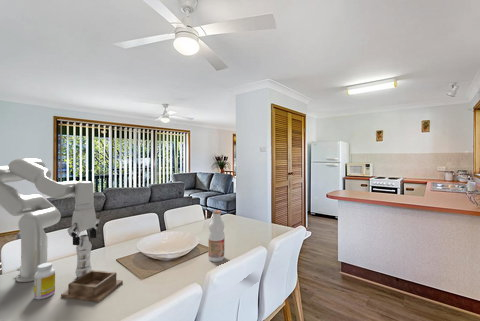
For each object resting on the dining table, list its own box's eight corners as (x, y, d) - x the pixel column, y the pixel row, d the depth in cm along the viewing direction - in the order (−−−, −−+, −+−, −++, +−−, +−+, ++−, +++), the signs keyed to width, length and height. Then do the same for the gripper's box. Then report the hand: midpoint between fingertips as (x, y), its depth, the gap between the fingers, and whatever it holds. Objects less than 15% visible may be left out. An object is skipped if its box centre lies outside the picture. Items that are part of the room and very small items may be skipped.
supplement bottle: (59, 290, 97) (59, 261, 97) (46, 299, 90) (46, 268, 90) (43, 290, 96) (43, 261, 96) (29, 300, 90) (29, 268, 90)
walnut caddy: (60, 297, 92) (61, 284, 92) (89, 279, 106) (89, 268, 106) (98, 302, 89) (98, 289, 89) (122, 283, 103) (122, 272, 103)
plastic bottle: (88, 271, 113) (89, 232, 113) (93, 275, 109) (93, 235, 109) (73, 276, 108) (74, 235, 108) (77, 281, 104) (78, 239, 104)
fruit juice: (205, 257, 131) (206, 210, 131) (219, 253, 136) (220, 208, 136) (212, 263, 123) (213, 213, 123) (227, 259, 128) (227, 211, 128)
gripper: (92, 203, 118) (92, 234, 118) (61, 210, 101) (61, 247, 101) (104, 203, 116) (105, 235, 116) (75, 210, 99) (75, 248, 99)
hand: (85, 241), depth 109 cm, fingers open, 9 cm apart
